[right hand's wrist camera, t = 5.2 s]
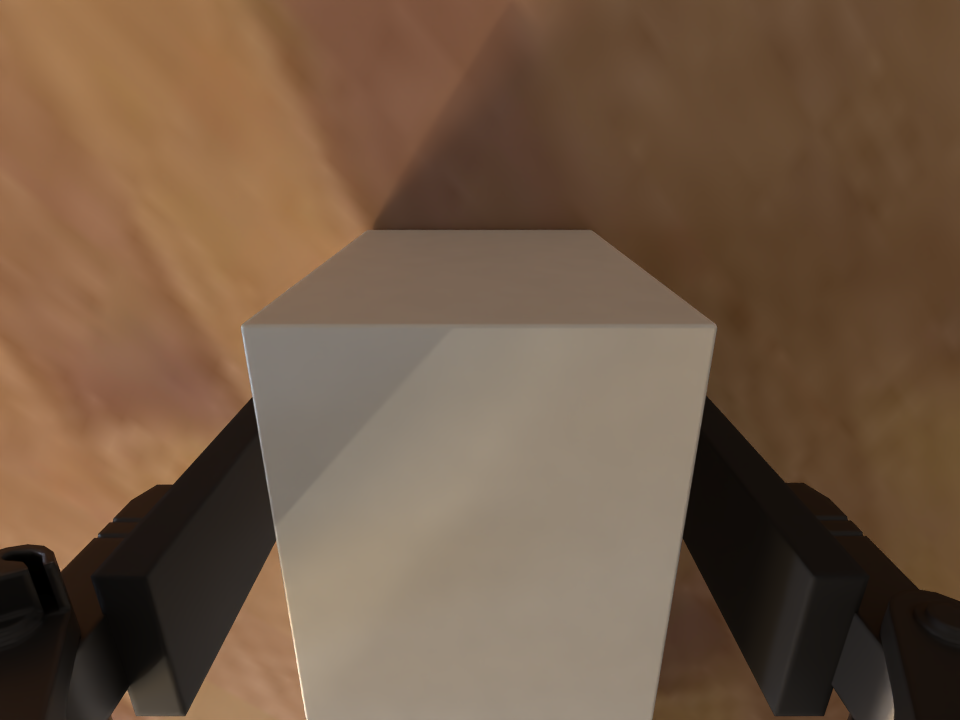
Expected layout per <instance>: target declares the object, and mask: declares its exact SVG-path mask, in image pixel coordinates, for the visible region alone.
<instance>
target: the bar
mask: <svg viewBox="0 0 960 720" xmlns="http://www.w3.org/2000/svg"><path fill="white" fill-rule="evenodd" d="M241 331H242V337H243V343H244V349H245V355H246V361H247V367H248V373H249V379H250V385H251V391H252V397H253V403H254V409H255V415H256V421H257V427H258V433H259V439H260V445H261V451H262V457H263V463H264V469H265V475H266V481H267V487H268V493H269V499H270V505H271V511H272V517H273V523H274V529H275V535H276V541H277V547H278V553H279V559H280V565H281V571H282V577H283V583H284V589H285V595H286V601H287V607H288V613H289V619H290V625H291V631H292V637H293V643H294V649H295V655H296V661H297V667H298V673H299V679H300V685H301V691H302V697H303V703H304V709H305V715H306V720H652V719H653V713H654V707H655V701H656V695H657V689H658V683H659V677H660V670H661V664H662V658H663V652H664V646H665V640H666V634H667V628H668V622H669V616H670V610H671V604H672V598H673V592H674V586H675V580H676V574H677V568H678V562H679V555H680V549H681V543H682V537H683V531H684V525H685V519H686V513H687V507H688V501H689V495H690V489H691V483H692V477H693V471H694V465H695V459H696V453H697V447H698V440H699V434H700V428H701V422H702V416H703V410H704V404H705V398H706V392H707V386H708V380H709V374H710V368H711V362H712V356H713V350H714V344H715V338H716V332H717V326H716V324H715V323H714V322H712V321H711V320H710V319H708V318H707V317H706V316H704V315H703V314H702V313H700V312H699V311H698V310H696V309H695V308H694V307H692V306H691V305H690V304H688V303H687V302H686V301H685V300H683V299H682V298H681V297H679V296H678V295H677V294H675V293H674V292H673V291H671V290H670V289H669V288H667V287H666V286H665V285H663V284H662V283H661V282H659V281H658V280H657V279H655V278H654V277H653V276H652V275H650V274H649V273H648V272H646V271H645V270H644V269H642V268H641V267H640V266H638V265H637V264H636V263H634V262H633V261H632V260H630V259H629V258H628V257H626V256H625V255H624V254H622V253H621V252H620V251H619V250H617V249H616V248H615V247H613V246H612V245H611V244H609V243H608V242H607V241H605V240H604V239H603V238H601V237H600V236H599V235H597V234H596V233H595V232H593V231H592V230H367V231H366V232H364V233H363V234H362V235H360V236H359V237H358V238H356V239H355V240H354V241H352V242H351V243H350V244H348V245H347V246H346V247H344V248H343V249H342V250H340V251H339V252H338V253H336V254H335V255H334V256H332V257H331V258H330V259H328V260H327V261H326V262H324V263H323V264H322V265H320V266H319V267H318V268H316V269H315V270H314V271H312V272H311V273H310V274H308V275H307V276H306V277H304V278H303V279H302V280H300V281H299V282H298V283H296V284H295V285H294V286H292V287H291V288H290V289H288V290H287V291H286V292H285V293H283V294H282V295H281V296H279V297H278V298H277V299H275V300H274V301H273V302H271V303H270V304H269V305H267V306H266V307H265V308H263V309H262V310H261V311H259V312H258V313H257V314H255V315H254V316H253V317H251V318H250V319H249V320H247V321H246V322H245V323H243V324H242V326H241Z"/></svg>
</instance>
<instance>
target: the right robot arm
mask: <svg viewBox="0 0 960 720" xmlns="http://www.w3.org/2000/svg"><path fill="white" fill-rule="evenodd" d="M682 538H683V540H684V541H685V543H686V545H687V547H688V549H689V551H690V553H691V555H692V557H693V559H694V561H695V563H696V565H697V567H698V569H699V571H700V572H701V574H702V576H703V578H704V580H705V582H706V584H707V586H708V588H709V590H710V592H711V594H712V596H713V598H714V600H715V602H716V603H717V605H718V607H719V609H720V611H721V613H722V615H723V617H724V619H725V621H726V623H727V625H728V627H729V629H730V631H731V632H732V634H733V636H734V638H735V640H736V642H737V644H738V646H739V648H740V650H741V652H742V654H743V656H744V658H745V660H746V662H747V663H748V665H749V667H750V669H751V671H752V673H753V675H754V677H755V679H756V681H757V683H758V685H759V687H760V689H761V691H762V693H763V694H764V696H765V698H766V700H767V702H768V704H769V706H770V708H771V710H772V712H773V714H774V716H824V714H825V711H826V708H827V705H828V702H829V699H830V696H831V693H832V690H833V688H834V689H835V691H836V692H837V694H838V696H839V697H840V699H841V700H842V702H843V703H844V705H845V706H846V708H847V709H848V711H849V712H850V714H849V717H848V720H960V601H958V600H955V599H952V598H949V597H947V596H944V595H941V594H939V593H936V592H930V591H924V590H919V589H918V588H917V587H916V586H915V585H914V584H913V583H912V582H911V581H910V580H909V579H908V578H907V577H906V576H905V575H904V574H903V573H902V572H901V571H900V570H899V569H898V568H897V567H896V566H895V565H894V564H893V563H892V562H891V561H890V560H889V559H888V558H887V557H886V556H885V554H884V553H883V552H882V551H881V550H880V549H879V548H878V547H877V546H876V545H875V544H874V543H873V542H872V541H871V540H870V539H869V538H868V537H867V536H863V534H862V531H861V530H860V529H859V528H858V527H857V526H856V525H855V524H854V523H853V522H852V521H848V519H847V516H846V515H845V514H844V513H843V512H842V511H841V510H840V509H839V508H838V507H837V506H836V505H835V504H834V503H833V502H832V501H831V500H830V499H829V498H827V497H826V496H824V495H822V494H821V493H819V492H817V491H816V490H814V489H813V488H811V487H809V486H808V485H806V484H804V483H785V482H784V481H783V480H782V479H781V478H780V477H779V475H778V474H777V473H776V472H775V471H774V470H773V469H772V468H771V467H770V465H769V464H768V463H767V462H766V461H765V460H764V459H763V458H762V457H761V456H760V454H759V453H758V452H757V451H756V450H755V449H754V448H753V447H752V446H751V444H750V443H749V442H748V441H747V440H746V439H745V438H744V437H743V436H742V435H741V433H740V432H739V431H738V430H737V429H736V428H735V427H734V426H733V425H732V423H731V422H730V421H729V420H728V419H727V418H726V417H725V416H724V415H723V414H722V412H721V411H720V410H719V409H718V408H717V407H716V406H715V405H714V404H713V402H712V401H711V400H710V399H709V398H708V397H707V396H706V398H705V404H704V410H703V416H702V422H701V428H700V434H699V440H698V447H697V453H696V459H695V465H694V471H693V477H692V483H691V489H690V495H689V501H688V507H687V513H686V519H685V525H684V531H683V537H682ZM275 541H276V535H275V529H274V523H273V517H272V511H271V505H270V499H269V493H268V487H267V481H266V475H265V469H264V463H263V457H262V451H261V445H260V439H259V433H258V427H257V421H256V415H255V409H254V403H253V397H252V398H251V399H250V400H249V401H248V403H247V404H246V405H245V406H244V407H243V408H242V409H241V410H240V411H239V412H238V414H237V415H236V416H235V417H234V418H233V419H232V420H231V421H230V422H229V424H228V425H227V426H226V427H225V428H224V429H223V430H222V431H221V432H220V433H219V435H218V436H217V437H216V438H215V439H214V440H213V441H212V442H211V443H210V445H209V446H208V447H207V448H206V449H205V450H204V451H203V452H202V453H201V454H200V456H199V457H198V458H197V459H196V460H195V461H194V462H193V463H192V464H191V466H190V467H189V468H188V469H187V470H186V471H185V472H184V473H183V474H182V475H181V477H180V478H179V479H178V480H177V481H176V482H175V483H174V484H173V485H156V486H154V487H153V488H151V489H149V490H148V491H146V492H144V493H143V494H141V495H139V496H138V497H136V498H134V499H133V500H131V501H130V502H129V503H128V504H127V505H126V506H125V507H124V508H123V509H122V510H121V511H120V512H119V513H118V514H117V515H116V517H115V518H114V519H113V522H110V523H109V524H108V525H107V526H106V527H105V528H104V529H103V530H102V531H101V532H100V533H99V534H98V538H94V539H93V540H92V541H91V542H90V543H89V544H88V545H87V546H86V547H85V548H84V549H83V550H82V551H81V552H80V553H79V554H78V555H77V556H76V557H75V558H74V559H73V560H72V561H71V562H70V563H69V564H68V565H67V566H66V567H65V568H64V569H63V570H62V571H61V572H60V569H59V566H58V563H57V561H56V558H55V555H54V552H53V551H51V550H50V549H48V548H47V547H45V546H40V545H29V544H27V545H20V546H14V547H8V548H4V549H1V550H0V720H112V717H111V714H112V712H113V711H114V709H115V708H116V706H117V705H118V703H119V702H120V700H121V698H122V697H123V695H124V694H125V692H126V691H127V690H128V693H129V696H130V699H131V702H132V705H133V708H134V711H135V714H136V716H186V714H187V712H188V710H189V708H190V706H191V704H192V702H193V700H194V698H195V696H196V694H197V693H198V691H199V689H200V687H201V685H202V683H203V681H204V679H205V677H206V675H207V673H208V671H209V669H210V667H211V665H212V663H213V662H214V660H215V658H216V656H217V654H218V652H219V650H220V648H221V646H222V644H223V642H224V640H225V638H226V636H227V634H228V633H229V631H230V629H231V627H232V625H233V623H234V621H235V619H236V617H237V615H238V613H239V611H240V609H241V607H242V605H243V603H244V602H245V600H246V598H247V596H248V594H249V592H250V590H251V588H252V586H253V584H254V582H255V580H256V578H257V576H258V574H259V572H260V571H261V569H262V567H263V565H264V563H265V561H266V559H267V557H268V555H269V553H270V551H271V549H272V547H273V545H274V543H275Z"/></svg>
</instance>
